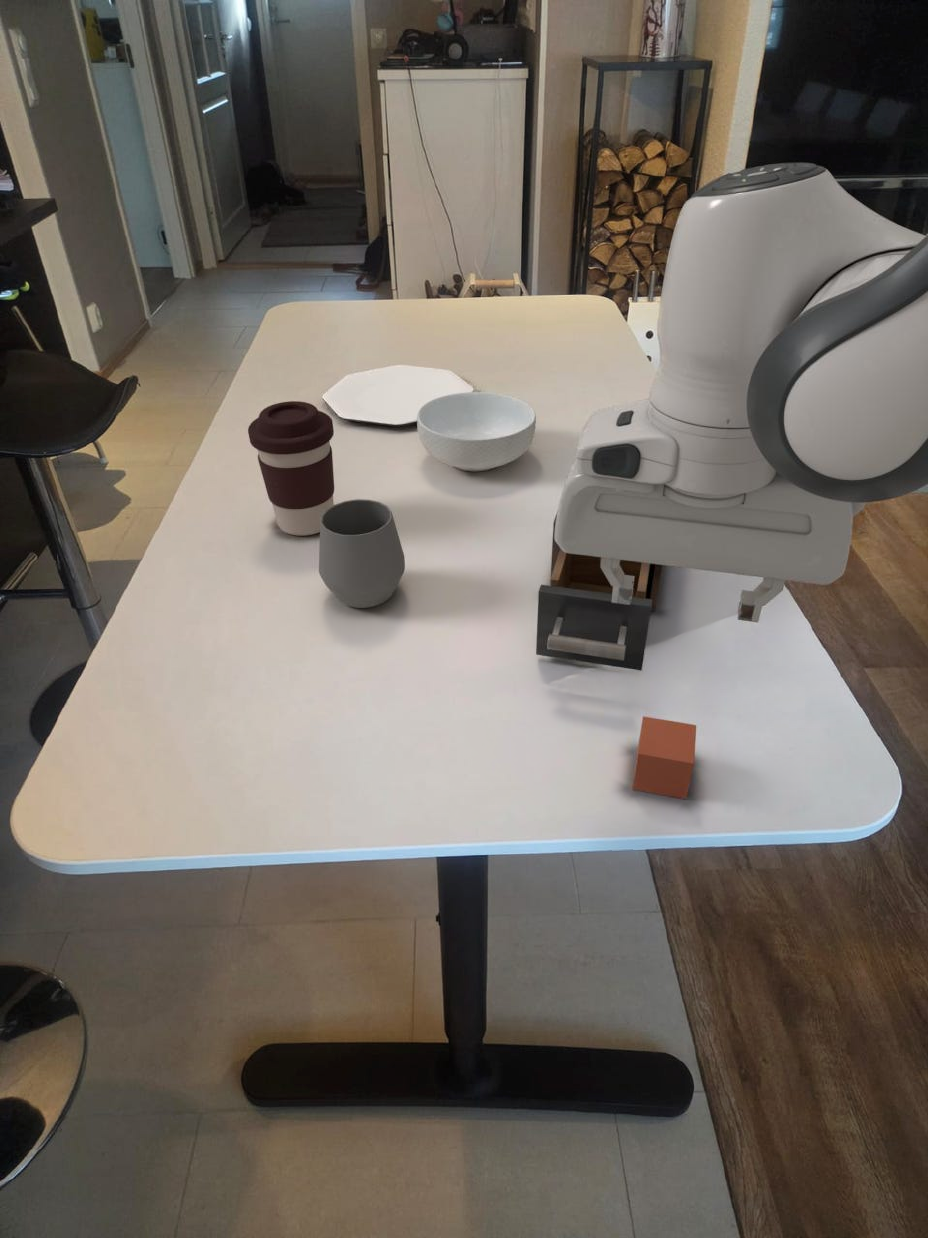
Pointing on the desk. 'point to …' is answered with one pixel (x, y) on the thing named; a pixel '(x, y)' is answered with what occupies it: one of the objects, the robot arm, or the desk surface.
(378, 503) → the cup
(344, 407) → the plate
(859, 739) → the desk surface
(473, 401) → the cereal bowl
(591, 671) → the desk surface
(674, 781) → the block
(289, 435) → the coffee cup
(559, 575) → the drawer
